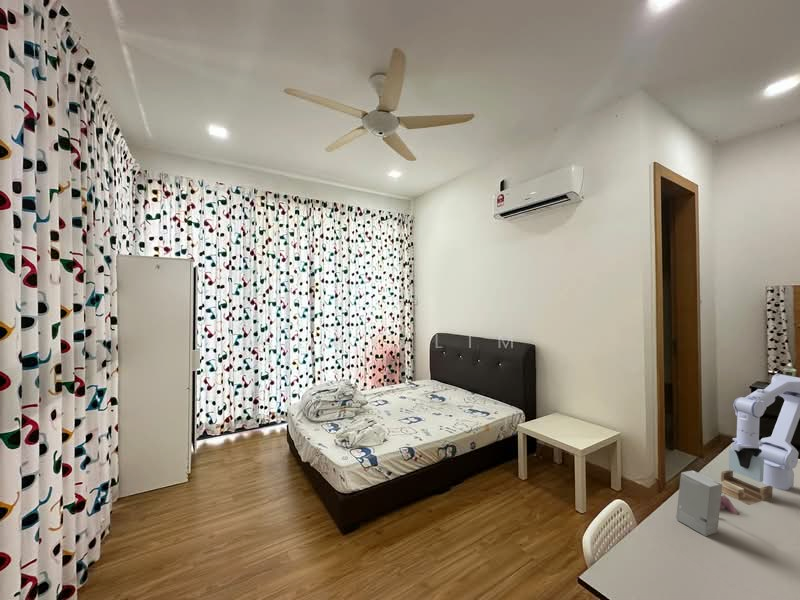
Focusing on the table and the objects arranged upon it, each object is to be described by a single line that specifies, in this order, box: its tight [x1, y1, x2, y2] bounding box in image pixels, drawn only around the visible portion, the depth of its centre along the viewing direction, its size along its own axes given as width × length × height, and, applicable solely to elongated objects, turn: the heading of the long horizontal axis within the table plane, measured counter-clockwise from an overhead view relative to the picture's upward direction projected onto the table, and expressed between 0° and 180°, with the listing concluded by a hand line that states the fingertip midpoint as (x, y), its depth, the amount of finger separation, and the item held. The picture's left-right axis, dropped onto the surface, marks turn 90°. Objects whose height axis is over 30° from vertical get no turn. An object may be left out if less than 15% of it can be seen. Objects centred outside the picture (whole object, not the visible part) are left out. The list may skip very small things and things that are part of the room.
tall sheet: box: [728, 448, 764, 483], centre depth 124 cm, size 2×9×8 cm, turn 18°
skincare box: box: [675, 470, 723, 537], centre depth 105 cm, size 8×7×16 cm
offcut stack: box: [719, 480, 745, 500], centre depth 121 cm, size 4×6×3 cm, turn 18°
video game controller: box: [720, 493, 739, 515], centre depth 113 cm, size 10×5×7 cm, turn 85°
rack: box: [720, 469, 774, 505], centre depth 122 cm, size 14×12×5 cm
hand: (746, 466), depth 124 cm, fingers closed on tall sheet, 2 cm apart
